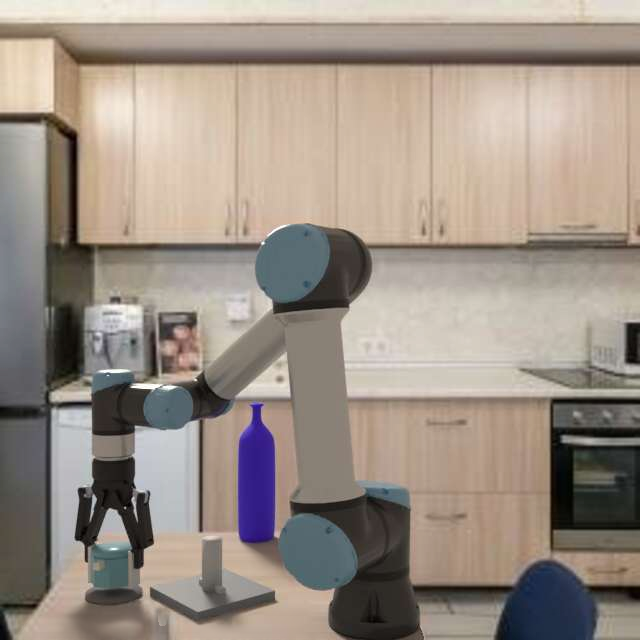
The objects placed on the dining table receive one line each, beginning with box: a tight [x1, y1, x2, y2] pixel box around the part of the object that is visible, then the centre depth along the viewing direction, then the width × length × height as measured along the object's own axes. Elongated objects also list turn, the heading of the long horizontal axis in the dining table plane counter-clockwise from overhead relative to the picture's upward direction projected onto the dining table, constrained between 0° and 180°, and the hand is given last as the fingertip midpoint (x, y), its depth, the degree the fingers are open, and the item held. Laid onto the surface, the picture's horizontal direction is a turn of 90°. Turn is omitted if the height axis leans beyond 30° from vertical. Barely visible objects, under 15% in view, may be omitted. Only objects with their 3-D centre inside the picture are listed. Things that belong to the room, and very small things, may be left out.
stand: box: [149, 535, 276, 622], centre depth 151 cm, size 16×16×10 cm
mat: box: [84, 584, 143, 606], centre depth 152 cm, size 10×10×1 cm
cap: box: [91, 541, 132, 589], centre depth 151 cm, size 11×8×6 cm
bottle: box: [237, 402, 276, 543], centre depth 188 cm, size 8×8×30 cm
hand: (114, 583), depth 152 cm, fingers closed on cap, 8 cm apart
